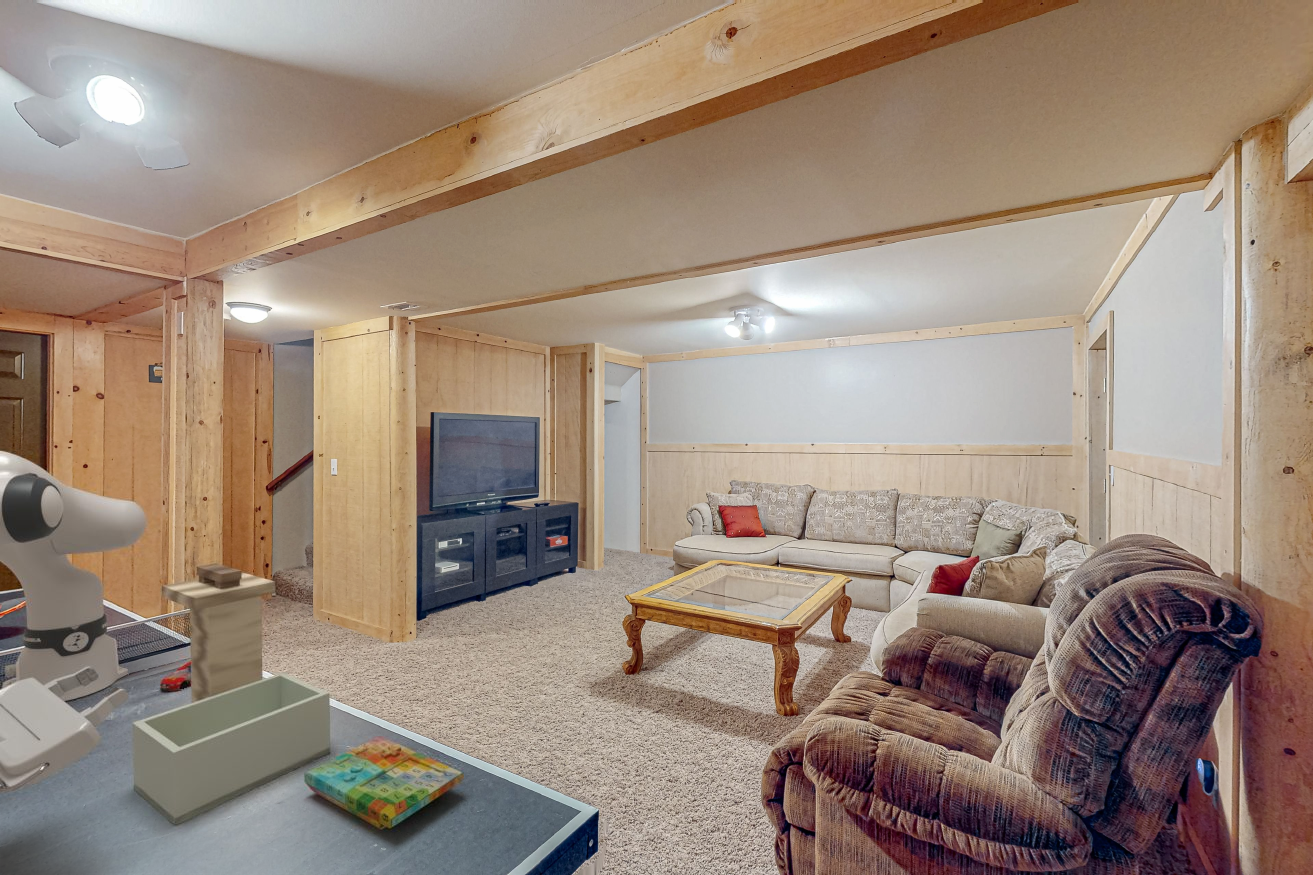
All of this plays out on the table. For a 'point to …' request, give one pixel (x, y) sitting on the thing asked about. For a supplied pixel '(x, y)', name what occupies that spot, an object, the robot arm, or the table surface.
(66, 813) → the table surface
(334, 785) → the puzzle game
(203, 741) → the bin
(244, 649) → the stand
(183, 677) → the race car
